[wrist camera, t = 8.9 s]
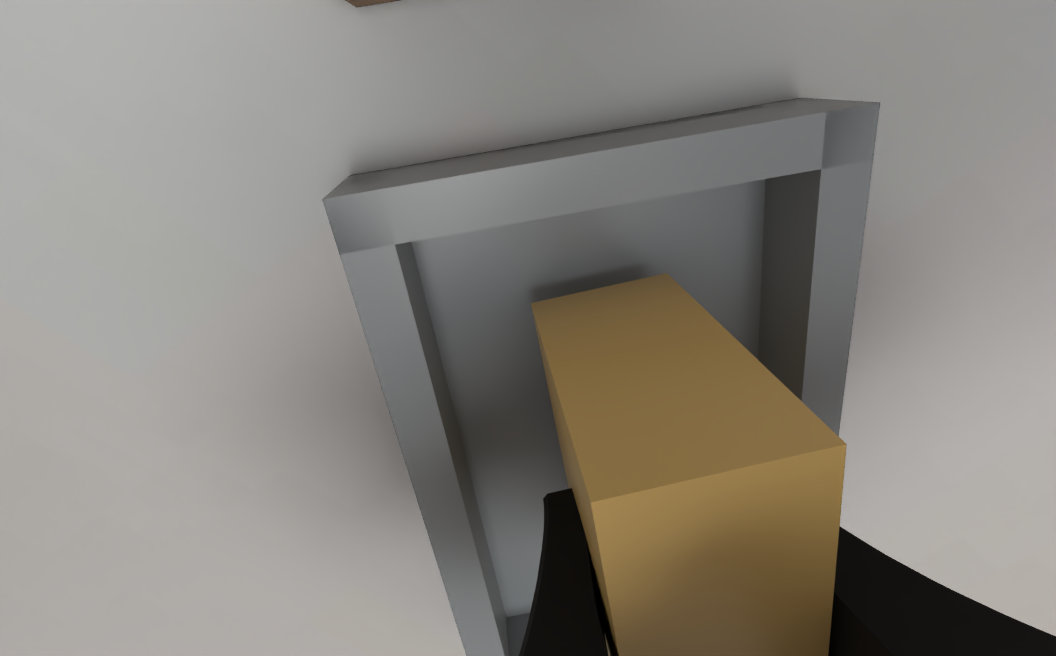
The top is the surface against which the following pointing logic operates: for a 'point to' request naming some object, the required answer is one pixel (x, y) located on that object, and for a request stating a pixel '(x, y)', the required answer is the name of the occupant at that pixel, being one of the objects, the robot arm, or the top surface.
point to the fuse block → (691, 477)
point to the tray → (580, 265)
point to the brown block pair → (367, 2)
